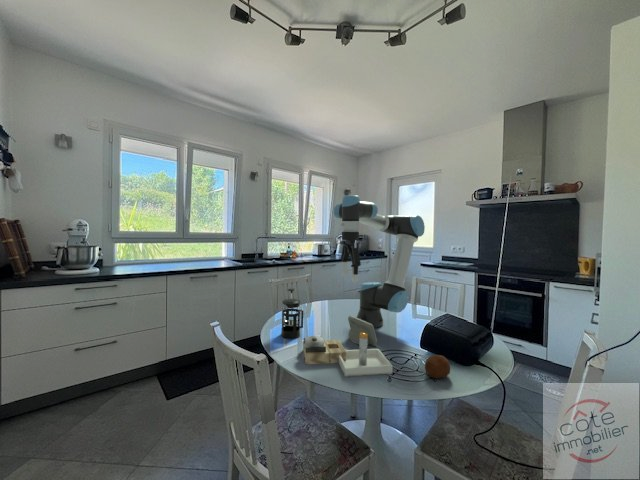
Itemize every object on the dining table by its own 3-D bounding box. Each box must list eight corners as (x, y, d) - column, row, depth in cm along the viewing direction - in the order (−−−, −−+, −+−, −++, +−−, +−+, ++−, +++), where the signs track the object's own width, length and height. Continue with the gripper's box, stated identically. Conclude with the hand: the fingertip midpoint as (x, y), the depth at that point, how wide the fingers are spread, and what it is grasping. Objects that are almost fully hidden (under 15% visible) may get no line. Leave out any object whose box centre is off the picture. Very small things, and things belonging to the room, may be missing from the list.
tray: (377, 355, 111) (378, 348, 111) (392, 373, 98) (392, 365, 97) (336, 357, 108) (336, 350, 108) (345, 376, 95) (345, 368, 94)
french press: (284, 340, 123) (285, 292, 122) (276, 333, 131) (277, 288, 130) (306, 336, 129) (307, 289, 128) (298, 329, 137) (299, 285, 136)
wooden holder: (338, 348, 117) (339, 331, 116) (345, 362, 105) (346, 343, 105) (302, 350, 114) (303, 333, 114) (305, 364, 102) (306, 345, 102)
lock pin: (365, 361, 105) (366, 331, 104) (367, 365, 102) (368, 334, 101) (357, 362, 104) (358, 332, 104) (360, 365, 101) (361, 335, 101)
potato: (418, 376, 96) (419, 356, 96) (431, 366, 104) (431, 347, 104) (442, 386, 90) (444, 365, 90) (454, 374, 98) (454, 355, 98)
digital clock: (379, 347, 120) (380, 323, 119) (362, 350, 116) (363, 326, 116) (359, 333, 135) (360, 313, 134) (344, 336, 131) (345, 315, 130)
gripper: (334, 230, 128) (334, 273, 129) (351, 231, 103) (350, 285, 105) (349, 230, 129) (348, 273, 131) (369, 231, 105) (368, 284, 106)
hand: (349, 278), depth 118 cm, fingers open, 13 cm apart
